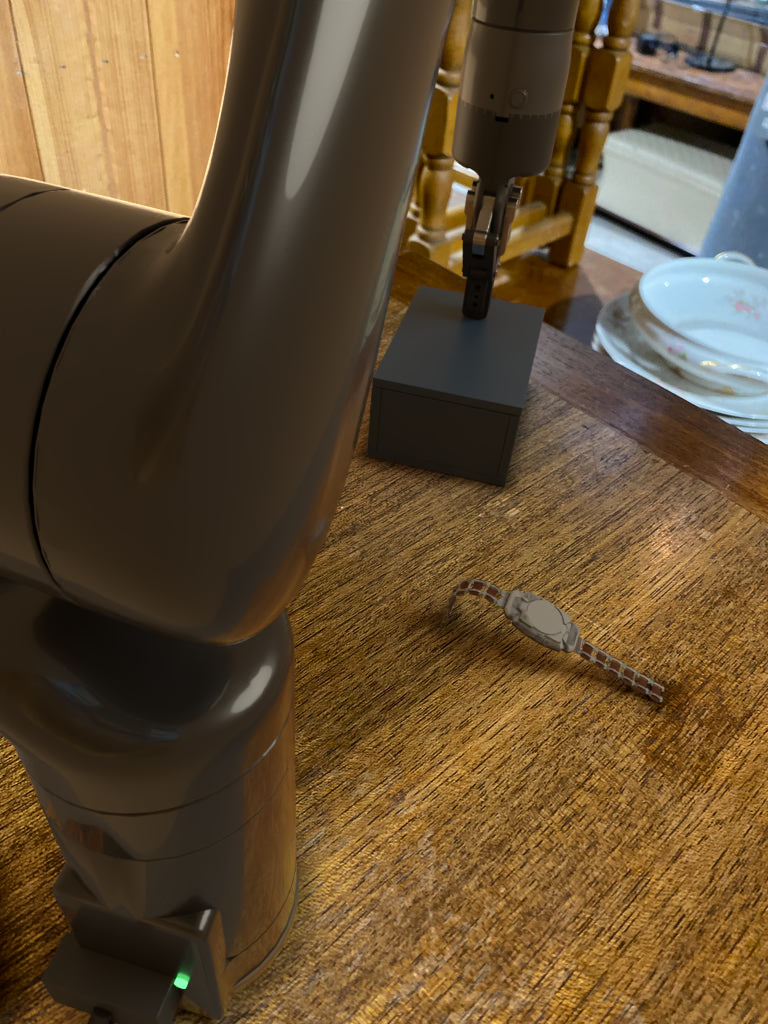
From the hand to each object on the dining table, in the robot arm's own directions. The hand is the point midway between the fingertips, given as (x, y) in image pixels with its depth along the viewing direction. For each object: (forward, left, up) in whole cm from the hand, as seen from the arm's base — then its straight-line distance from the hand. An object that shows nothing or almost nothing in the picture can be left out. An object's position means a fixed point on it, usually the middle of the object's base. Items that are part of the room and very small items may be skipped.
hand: (475, 314), depth 68 cm
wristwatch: (-29, -11, -8) cm, 32 cm away
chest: (-5, 0, -8) cm, 9 cm away
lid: (-4, 0, -1) cm, 5 cm away
